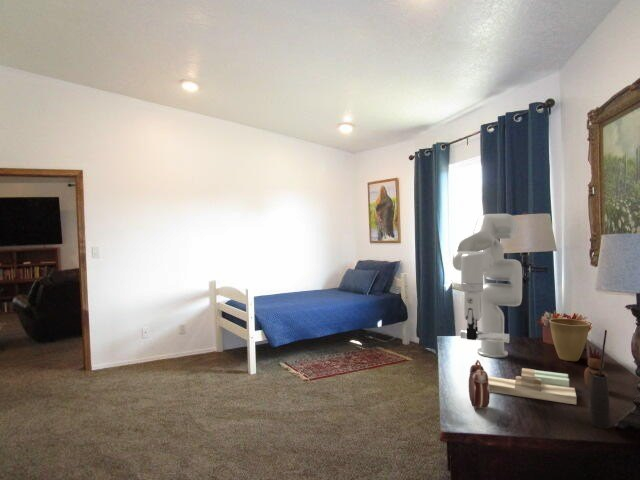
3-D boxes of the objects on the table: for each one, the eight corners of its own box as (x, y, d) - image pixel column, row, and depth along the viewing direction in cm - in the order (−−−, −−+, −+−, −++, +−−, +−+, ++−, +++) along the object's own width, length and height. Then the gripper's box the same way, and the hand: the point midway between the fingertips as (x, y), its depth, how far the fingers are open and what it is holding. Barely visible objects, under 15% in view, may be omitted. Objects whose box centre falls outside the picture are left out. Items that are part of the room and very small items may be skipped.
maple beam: (485, 382, 159) (485, 363, 159) (574, 395, 147) (574, 374, 146) (483, 390, 152) (483, 370, 151) (576, 404, 139) (576, 382, 139)
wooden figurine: (580, 387, 153) (581, 345, 153) (591, 385, 156) (592, 343, 155) (599, 394, 147) (600, 350, 147) (610, 391, 149) (611, 348, 149)
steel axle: (460, 339, 157) (460, 330, 157) (461, 337, 160) (461, 329, 160) (508, 343, 150) (508, 335, 150) (509, 341, 153) (509, 333, 153)
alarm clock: (490, 416, 132) (490, 366, 131) (473, 414, 132) (473, 366, 132) (483, 401, 142) (483, 356, 142) (467, 400, 143) (467, 355, 143)
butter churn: (569, 418, 129) (570, 324, 128) (596, 415, 131) (597, 322, 130) (595, 432, 120) (596, 332, 119) (623, 428, 122) (625, 330, 122)
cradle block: (533, 382, 159) (533, 369, 159) (567, 386, 154) (567, 374, 154) (533, 388, 153) (533, 376, 153) (569, 393, 148) (569, 380, 148)
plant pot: (595, 364, 178) (596, 326, 177) (556, 363, 180) (557, 325, 180) (580, 354, 192) (580, 318, 192) (544, 353, 195) (544, 317, 194)
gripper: (480, 291, 147) (480, 345, 148) (485, 285, 162) (485, 334, 162) (457, 290, 151) (457, 342, 151) (464, 284, 165) (464, 332, 166)
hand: (472, 337), depth 157 cm, fingers closed on steel axle, 3 cm apart
